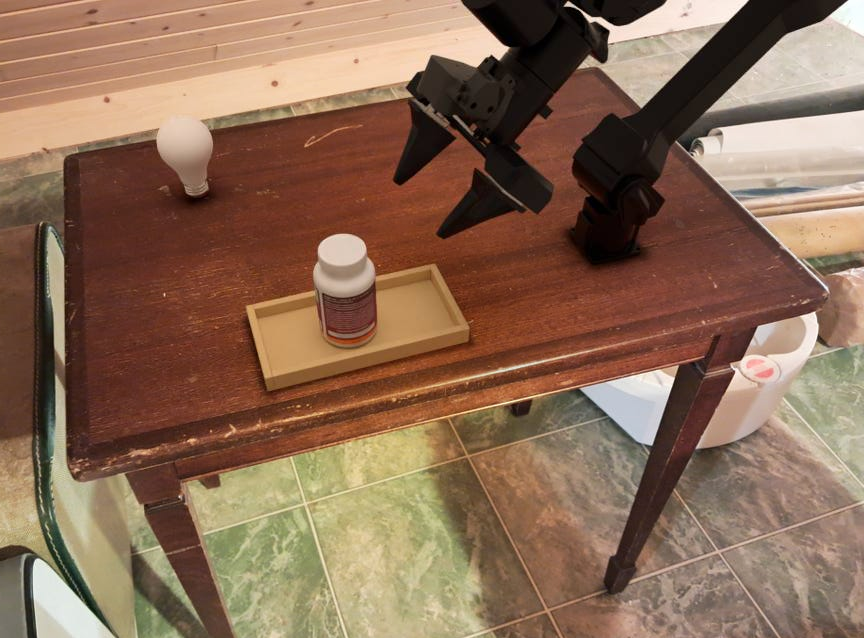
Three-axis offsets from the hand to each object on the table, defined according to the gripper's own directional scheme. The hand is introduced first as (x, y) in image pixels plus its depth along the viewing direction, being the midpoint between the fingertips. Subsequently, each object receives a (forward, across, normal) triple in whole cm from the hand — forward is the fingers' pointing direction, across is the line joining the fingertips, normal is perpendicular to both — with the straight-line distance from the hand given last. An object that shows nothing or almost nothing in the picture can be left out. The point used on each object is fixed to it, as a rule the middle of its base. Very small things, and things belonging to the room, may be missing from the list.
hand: (416, 209), depth 69 cm
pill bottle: (+15, 0, +4) cm, 15 cm away
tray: (+15, 0, +5) cm, 15 cm away
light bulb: (+21, -31, -2) cm, 37 cm away
